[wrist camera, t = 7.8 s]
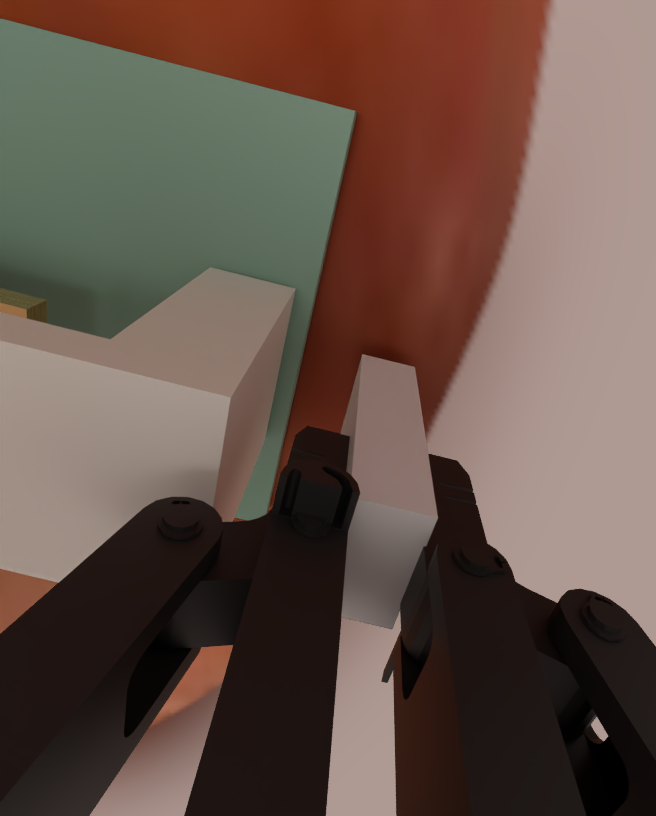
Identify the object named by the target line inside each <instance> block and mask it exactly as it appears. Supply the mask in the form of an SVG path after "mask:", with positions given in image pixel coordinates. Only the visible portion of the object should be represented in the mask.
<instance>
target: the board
mask: <svg viewBox="0 0 656 816" xmlns="http://www.w3.org/2000/svg"><path fill="white" fill-rule="evenodd" d="M356 116H357V112H356V111H354V110H350V109H346V108H342V107H339V106H335V105H331V104H327V103H323V102H319V101H315V100H312V99H308V98H304V97H300V96H296V95H292V94H289V93H285V92H281V91H277V90H273V89H269V88H266V87H262V86H258V85H254V84H250V83H246V82H243V81H239V80H235V79H231V78H227V77H223V76H219V75H216V74H212V73H208V72H204V71H200V70H196V69H193V68H189V67H185V66H181V65H177V64H173V63H170V62H166V61H162V60H158V59H154V58H150V57H146V56H143V55H139V54H135V53H131V52H127V51H123V50H120V49H116V48H112V47H108V46H104V45H100V44H97V43H93V42H89V41H85V40H81V39H77V38H74V37H70V36H66V35H62V34H58V33H54V32H50V31H47V30H43V29H39V28H35V27H31V26H27V25H24V24H20V23H16V22H12V21H8V20H4V19H1V18H0V288H2V289H6V290H10V291H14V292H17V293H21V294H25V295H29V296H33V297H37V298H41V299H45V300H47V324H51V325H55V326H59V327H63V328H67V329H71V330H75V331H79V332H83V333H87V334H91V335H95V336H99V337H103V338H107V339H112V338H113V337H114V336H116V335H117V334H118V333H120V332H121V331H123V330H124V329H125V328H127V327H128V326H130V325H131V324H132V323H134V322H135V321H136V320H138V319H139V318H141V317H142V316H143V315H145V314H146V313H148V312H149V311H150V310H152V309H153V308H154V307H156V306H157V305H159V304H160V303H161V302H163V301H164V300H166V299H167V298H168V297H170V296H171V295H172V294H174V293H175V292H177V291H178V290H179V289H181V288H182V287H184V286H185V285H186V284H188V283H189V282H190V281H192V280H193V279H195V278H196V277H197V276H199V275H200V274H202V273H203V272H204V271H206V270H207V269H208V268H210V267H212V268H216V269H220V270H224V271H228V272H232V273H236V274H240V275H244V276H248V277H252V278H256V279H260V280H264V281H268V282H272V283H276V284H280V285H284V286H288V287H292V288H295V289H296V290H295V295H294V300H293V304H292V309H291V314H290V319H289V324H288V329H287V334H286V339H285V344H284V349H283V354H282V359H281V363H280V368H279V373H278V378H277V383H276V388H275V393H274V398H273V403H272V408H271V413H270V418H269V422H268V427H267V432H266V437H265V441H264V444H263V446H262V449H261V451H260V454H259V457H258V459H257V462H256V464H255V467H254V469H253V472H252V474H251V477H250V479H249V482H248V484H247V487H246V489H245V492H244V494H243V497H242V499H241V502H240V505H239V507H238V510H237V512H236V515H235V518H239V519H243V520H247V521H249V520H253V519H257V518H259V517H261V516H263V515H265V514H267V513H268V510H269V506H270V502H271V497H272V493H273V488H274V484H275V479H276V475H277V470H278V466H279V461H280V457H281V452H282V448H283V443H284V439H285V434H286V430H287V425H288V421H289V416H290V412H291V407H292V403H293V398H294V394H295V390H296V385H297V381H298V376H299V372H300V367H301V363H302V358H303V354H304V349H305V345H306V340H307V336H308V331H309V327H310V322H311V318H312V313H313V309H314V304H315V300H316V295H317V291H318V286H319V282H320V277H321V273H322V268H323V264H324V260H325V255H326V251H327V246H328V242H329V237H330V233H331V228H332V224H333V219H334V215H335V210H336V206H337V201H338V197H339V192H340V188H341V183H342V179H343V174H344V170H345V165H346V161H347V156H348V152H349V147H350V143H351V138H352V134H353V130H354V125H355V121H356Z"/></svg>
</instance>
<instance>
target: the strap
mask: <svg viewBox="0 0 656 816" xmlns="http://www.w3.org/2000/svg"><path fill="white" fill-rule="evenodd" d="M0 312H2V313H6V314H10V315H15V316H19V317H23V318H27V319H31V320H35V321H39V322H43V323H47V300H45V299H41V298H37V297H33V296H29V295H25V294H21V293H17V292H14V291H10V290H6V289H2V288H0Z"/></svg>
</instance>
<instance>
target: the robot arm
mask: <svg viewBox="0 0 656 816" xmlns="http://www.w3.org/2000/svg"><path fill="white" fill-rule="evenodd" d="M399 611H400V613H401V632H400V634H399V636H398V639H397V641H396V643H395V646H394V648H393V650H392V653H391V655H390V658H389V660H388V662H387V665H386V667H385V669H384V673H383V677H382V682H386V683H387V682H388V680H389V678H390V676H391V673H392V671H393V677H394V724H395V766H396V767H395V768H396V814H397V816H656V646H655V645H654V644H653V643H652V641H651V640H650V639H649V637H648V636H647V635H646V633H645V632H644V631H643V630H642V628H641V627H640V626H639V624H638V623H637V622H636V621H635V620H634V619H633V618H632V617H631V616H630V615H629V614H628V613H627V612H626V610H624V609H623V608H621V607H620V606H619V605H617V604H616V603H614V602H613V601H612V600H610V599H608V598H606V597H604V596H602V595H600V594H597V593H596V592H593V591H587V590H583V589H575V590H568V591H567V592H566V593H565V594H564V595H563V596H562V597H561V598H560V600H559V602H558V603H556V602H554V601H552V600H550V599H548V598H545V597H544V596H542V595H539V594H537V593H535V592H533V591H531V590H529V589H527V588H525V587H524V586H522V585H520V584H518V583H517V582H515V579H514V576H513V572H512V570H511V568H510V566H509V564H508V562H507V560H506V559H505V558H504V557H503V556H502V555H501V554H500V553H499V552H498V551H497V550H496V549H495V548H493V547H492V546H490V545H488V544H487V541H486V537H485V533H484V529H483V526H482V522H481V518H480V514H479V510H478V507H477V505H476V500H475V496H474V493H473V488H472V484H471V480H470V477H469V475H468V473H467V472H466V471H465V470H464V469H463V467H462V466H461V465H460V464H459V462H458V461H456V460H452V459H448V458H444V457H440V456H436V455H432V454H428V450H427V443H426V437H425V430H424V423H423V417H422V410H421V404H420V397H419V391H418V384H417V378H416V371H415V367H412V366H408V365H404V364H400V363H396V362H392V361H388V360H384V359H380V358H376V357H372V356H368V355H364V354H362V357H361V360H360V364H359V368H358V371H357V375H356V378H355V382H354V386H353V389H352V393H351V397H350V400H349V404H348V407H347V411H346V415H345V418H344V422H343V425H342V429H341V433H340V434H339V433H335V432H330V431H326V430H322V429H318V428H314V427H310V426H307V427H306V428H304V429H303V430H302V431H300V432H299V433H298V434H296V436H295V439H294V443H293V446H292V450H291V453H290V457H289V460H288V464H287V466H285V468H284V469H283V471H282V472H281V474H280V478H279V482H278V487H277V491H276V495H275V500H274V504H273V508H272V509H271V510H270V511H269V512H268V513H267V514H265V515H263V516H261V517H259V518H257V519H253V520H249V521H240V522H222V517H221V516H220V515H219V513H218V512H217V511H216V509H215V508H213V507H212V506H210V505H209V504H207V503H205V502H204V501H201V500H197V499H194V498H190V497H168V498H164V499H160V500H156V501H154V502H153V503H151V504H149V505H148V506H146V507H144V508H143V509H142V510H141V511H140V512H138V513H137V514H136V515H135V516H134V517H133V518H132V519H130V520H129V521H128V522H127V523H126V524H125V525H124V526H122V527H121V528H120V529H119V530H118V531H117V532H116V533H115V534H113V535H112V536H111V537H110V538H109V539H108V540H107V541H105V542H104V543H103V544H102V545H101V546H100V547H99V548H98V549H96V550H95V551H94V552H93V553H92V554H91V555H90V556H88V557H87V558H86V559H85V560H84V561H83V562H82V563H80V564H79V565H78V566H77V567H76V568H75V569H74V570H73V571H71V572H70V573H69V574H68V575H67V576H66V577H65V578H63V579H62V580H61V581H60V582H59V583H58V584H57V585H55V586H54V587H53V588H52V589H51V590H50V591H49V592H48V593H46V594H45V595H44V596H43V597H42V598H41V599H40V600H38V601H37V602H36V603H35V604H34V605H33V606H32V607H31V608H29V609H28V610H27V611H26V612H25V613H24V614H23V615H21V616H20V617H19V618H18V619H17V620H16V621H15V622H13V623H12V624H11V625H10V626H9V627H8V628H7V629H6V630H4V631H3V632H2V633H1V634H0V816H89V815H90V814H91V812H92V811H93V809H94V808H95V807H96V805H97V803H98V802H99V801H100V799H101V798H102V796H103V795H104V793H105V791H106V790H107V789H108V787H109V786H110V784H111V783H112V781H113V780H114V778H115V777H116V775H117V774H118V772H119V771H120V769H121V768H122V766H123V765H124V763H125V762H126V760H127V759H128V757H129V756H130V754H131V753H132V752H133V750H134V749H135V747H136V746H137V744H138V743H139V741H140V740H141V738H142V737H143V735H144V733H145V732H146V731H147V729H148V728H149V726H150V725H151V723H152V722H153V720H154V719H155V717H156V716H157V714H158V713H159V711H160V710H161V708H162V707H163V706H164V704H165V703H166V701H167V700H168V698H169V697H170V695H171V694H172V692H173V691H174V689H175V688H176V686H177V685H178V683H179V682H180V680H181V679H182V677H183V676H184V674H185V673H186V671H187V670H188V668H189V667H190V665H191V664H192V662H193V661H194V659H195V658H196V656H197V655H198V654H199V652H200V649H201V647H209V646H222V645H233V649H232V652H231V656H230V659H229V662H228V666H227V669H226V673H225V676H224V680H223V683H222V687H221V690H220V694H219V697H218V701H217V704H216V708H215V711H214V715H213V718H212V722H211V725H210V728H209V732H208V736H207V739H206V742H205V746H204V749H203V753H202V756H201V760H200V763H199V766H198V770H197V773H196V777H195V780H194V784H193V787H192V791H191V794H190V798H189V801H188V805H187V808H186V812H185V815H184V816H326V805H327V793H328V779H329V767H330V753H331V741H332V729H333V717H334V704H335V691H336V679H337V665H338V652H339V640H340V628H341V617H342V618H346V619H350V620H355V621H359V622H363V623H368V624H372V625H376V626H380V627H385V628H389V629H392V628H393V626H394V624H395V621H396V619H397V616H398V614H399ZM596 717H598V719H599V720H600V722H601V724H602V726H603V727H604V729H605V731H606V733H607V734H608V737H607V739H606V740H605V741H602V740H601V739H600V738H599V737H598V736H597V735H596V733H595V732H594V730H593V728H592V727H591V723H592V722H593V721H594V719H595V718H596Z"/></svg>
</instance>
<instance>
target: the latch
mask: <svg viewBox="0 0 656 816" xmlns="http://www.w3.org/2000/svg"><path fill="white" fill-rule="evenodd" d="M295 290H296V289H295V288H292V287H288V286H284V285H280V284H276V283H272V282H268V281H264V280H260V279H256V278H252V277H248V276H244V275H240V274H236V273H232V272H228V271H224V270H220V269H216V268H212V267H210V268H208V269H207V270H206V271H204V272H203V273H202V274H200V275H199V276H197V277H196V278H195V279H193V280H192V281H190V282H189V283H188V284H186V285H185V286H184V287H182V288H181V289H179V290H178V291H177V292H175V293H174V294H172V295H171V296H170V297H168V298H167V299H166V300H164V301H163V302H161V303H160V304H159V305H157V306H156V307H154V308H153V309H152V310H150V311H149V312H148V313H146V314H145V315H143V316H142V317H141V318H139V319H138V320H136V321H135V322H134V323H132V324H131V325H130V326H128V327H127V328H125V329H124V330H123V331H121V332H120V333H118V334H117V335H116V336H114V337H113V338H112V339H107V338H103V337H99V336H95V335H91V334H87V333H83V332H79V331H75V330H71V329H67V328H63V327H59V326H55V325H51V324H47V323H43V322H39V321H35V320H31V319H27V318H23V317H19V316H15V315H10V314H6V313H2V312H0V569H3V570H7V571H11V572H16V573H20V574H24V575H28V576H32V577H36V578H41V579H45V580H49V581H53V582H57V583H59V582H60V581H61V580H62V579H63V578H65V577H66V576H67V575H68V574H69V573H70V572H71V571H73V570H74V569H75V568H76V567H77V566H78V565H79V564H80V563H82V562H83V561H84V560H85V559H86V558H87V557H88V556H90V555H91V554H92V553H93V552H94V551H95V550H96V549H98V548H99V547H100V546H101V545H102V544H103V543H104V542H105V541H107V540H108V539H109V538H110V537H111V536H112V535H113V534H115V533H116V532H117V531H118V530H119V529H120V528H121V527H122V526H124V525H125V524H126V523H127V522H128V521H129V520H130V519H132V518H133V517H134V516H135V515H136V514H137V513H138V512H140V511H141V510H142V509H143V508H144V507H146V506H148V505H149V504H151V503H153V502H154V501H156V500H160V499H164V498H168V497H190V498H194V499H197V500H201V501H204V502H205V503H207V504H209V505H210V506H212V507H213V508H215V509H216V511H217V512H218V513H219V515H220V516H221V517H222V522H233V520H234V517H235V515H236V512H237V510H238V507H239V505H240V502H241V499H242V497H243V494H244V492H245V489H246V487H247V484H248V482H249V479H250V477H251V474H252V472H253V469H254V467H255V464H256V462H257V459H258V457H259V454H260V451H261V449H262V446H263V444H264V441H265V437H266V432H267V427H268V422H269V418H270V413H271V408H272V403H273V398H274V393H275V388H276V383H277V378H278V373H279V368H280V363H281V359H282V354H283V349H284V344H285V339H286V334H287V329H288V324H289V319H290V314H291V309H292V304H293V300H294V295H295Z"/></svg>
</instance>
